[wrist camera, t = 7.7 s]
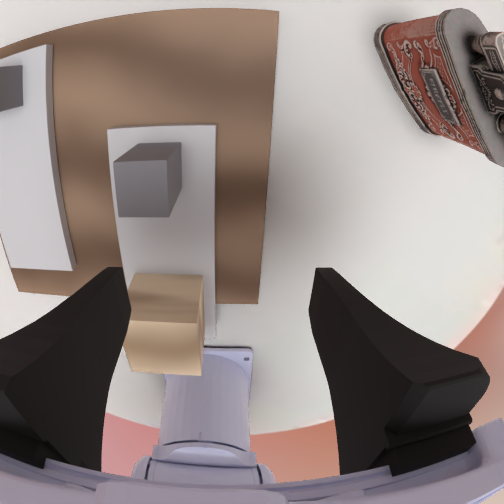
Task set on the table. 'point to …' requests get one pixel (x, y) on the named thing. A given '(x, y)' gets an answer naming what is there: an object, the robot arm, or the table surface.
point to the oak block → (166, 324)
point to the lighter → (449, 77)
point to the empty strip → (31, 166)
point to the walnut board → (162, 112)
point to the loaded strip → (185, 218)
